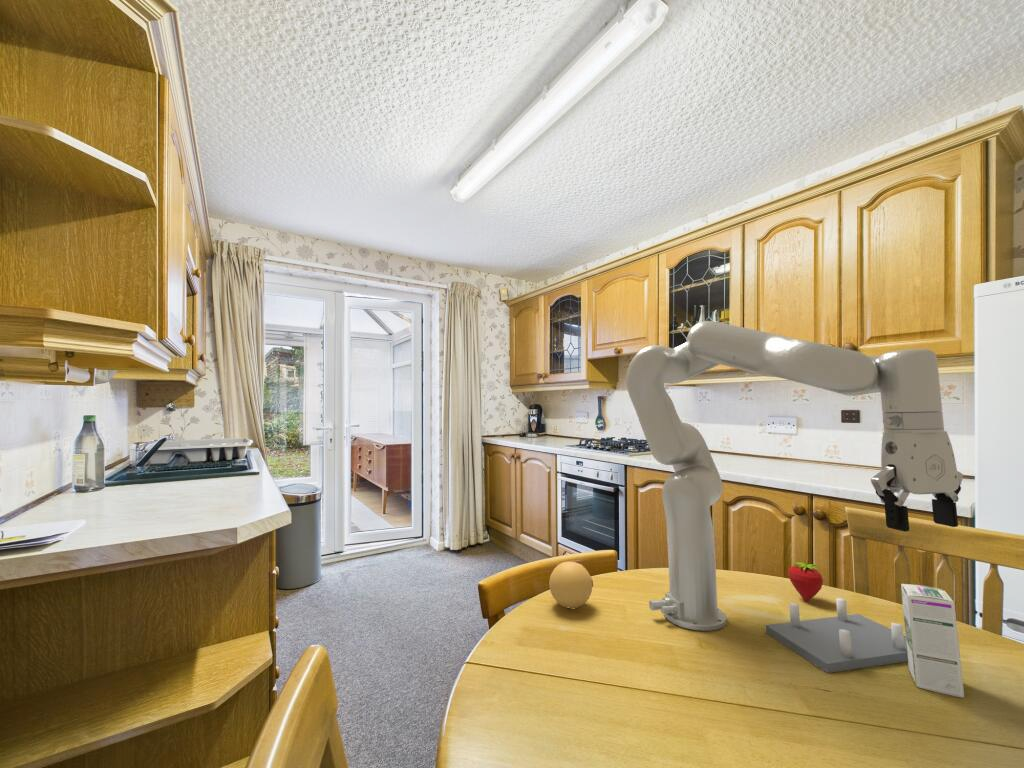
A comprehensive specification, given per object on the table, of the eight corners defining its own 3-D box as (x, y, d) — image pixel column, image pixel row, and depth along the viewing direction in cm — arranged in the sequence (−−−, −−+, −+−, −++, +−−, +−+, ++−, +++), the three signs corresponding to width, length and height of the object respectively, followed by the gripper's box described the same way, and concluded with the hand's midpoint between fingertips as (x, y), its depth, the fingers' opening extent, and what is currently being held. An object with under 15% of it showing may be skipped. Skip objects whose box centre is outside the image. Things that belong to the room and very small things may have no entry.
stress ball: (577, 623, 96) (607, 587, 99) (546, 589, 96) (577, 554, 99) (564, 611, 105) (592, 579, 108) (536, 580, 106) (564, 549, 109)
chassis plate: (827, 672, 74) (825, 639, 75) (765, 632, 88) (764, 604, 89) (933, 657, 78) (930, 625, 79) (858, 621, 92) (856, 594, 92)
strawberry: (803, 592, 107) (800, 550, 108) (832, 605, 100) (829, 560, 100) (782, 595, 106) (780, 552, 106) (810, 608, 98) (807, 562, 99)
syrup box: (966, 699, 67) (957, 601, 68) (914, 687, 70) (907, 593, 71) (954, 679, 72) (946, 588, 73) (906, 669, 75) (899, 581, 76)
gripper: (892, 425, 69) (903, 537, 68) (980, 421, 72) (991, 529, 71) (848, 424, 76) (856, 525, 75) (929, 421, 79) (938, 518, 78)
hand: (922, 527), depth 73 cm, fingers open, 9 cm apart
